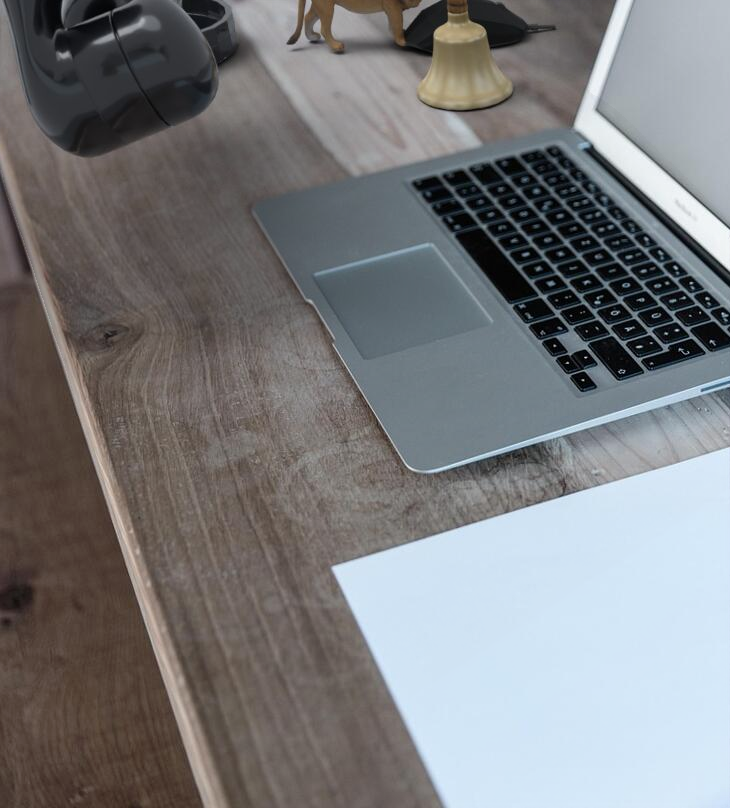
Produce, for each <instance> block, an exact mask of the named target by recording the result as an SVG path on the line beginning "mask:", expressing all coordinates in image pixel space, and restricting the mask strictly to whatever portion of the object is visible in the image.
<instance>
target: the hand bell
mask: <svg viewBox="0 0 730 808" xmlns="http://www.w3.org/2000/svg"><path fill="white" fill-rule="evenodd" d="M447 2H448V4H447V9H448V22H447V23H446V24H444V25H442V26H440V27H438V28H437V29H436V30H435V32H434V47H433V53H432V60H431V63H430V67H429V70H428V72H427V74H426V76H425V77H424V78H423V79H422V80H421V82H420V83H419V85H418V87H417V92H416V94H417V97H418V99H419V100H420V101H421V102H422V103H424V104H426V105H428V106H430V107H433V108H436V109H443V110H447V111H449V110H450V111H466V110H467V111H469V110H476V109H484V108H488V107H490V106H495V105H498V104H499V103H501V102H503V101H505V100H506V99H508V98H509V97H511V95H512V94H513V91H514V85H513V82H512V81H511V79H510V78H509V77H508V76H507V75H506V74H505V73H504V72H502V71H501V70H500V68H499V67H498V65H497V63H496V62H495V59H494V57H493V55H492V52H491V47H489V44H488V39H487V33H486V30H485V29H484V27H482V26H481V25H479V24H477V23H473V22H472V21H470V20H469V17H468V11H467V10H468V4H467V0H447Z"/></svg>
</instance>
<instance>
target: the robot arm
mask: <svg viewBox="0 0 730 808" xmlns="http://www.w3.org/2000/svg"><path fill="white" fill-rule="evenodd" d="M182 2H183V0H0V4H1V7H2V11H3V13H4V17H5V20H6V23H7V28H8V31H9V35H10V39H11V44H12V47H13V49H12V50H13V53H14V58H15V62H16V68H17V71H18V76H19V80H20V85H21V89H22V92H23V95H24V99H25V102H26V105H27V107H28V110H29V112H30V115H31V116H32V119H33V121H34V122H35V124H36V125H37V127H38V128H39V130H40V131H41V132H42V133H43V134H44V136H45V137H46V138H47V139H48V140H49V141H50V142H52V143H53V144H54V145H55V146H56V147H58V148H59V149H61V150H62V151H64V152H66V153H68V154H70V155H73V156H75V157H79V158H84V159H90V158H91V159H93V158H96V157H97V158H98V157H101V156H104V155H107V154H110V153H113V152H114V151H117V150H119V149H122V148H124V147H127V146H129V145H131V144H134V143H136V142H139V141H142V140H144V139H146V138H149V137H151V136H154V135H156V134H158V133H161V132H163V131H165V130H169V129H170V128H172V127H176V126H179V125H181V124H183V123H186V122H188V121H190V120H192V119H194V118H197V117H199V115H201V114H203V112H205V111H206V110H207V109H208V108H209V106H211V104H212V103H213V102H214V99H215V98H216V95H217V93H218V90H219V86H220V73H219V68H218V64H217V63H216V60H215V57H214V54H213V52H212V49H211V47H210V45H209V43H208V42H207V40H206V38H205V36H204V35H203V33H202V32H201V30H200V29H199V27H198V26H197V25H196V23H195V22H194V21H193V20H192V19H191V18H190V16H189V15H188V14H187V13H186V12H185V11H184V10H183V9H182V8H181V6H182Z"/></svg>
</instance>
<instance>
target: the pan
mask: <svg viewBox="0 0 730 808" xmlns="http://www.w3.org/2000/svg"><path fill="white" fill-rule="evenodd" d="M182 7H183V10H184V11H185V12H186V13H187V14H188V15H189V16H190V18H191V19H192V20H193V21H194V22H195V23H196V25H197V26H198V27H199V29H200V30H201V32H202V33H203V35H204V36H205V38H206V40H207V42H208V43H209V45H210V47H211V49H212V52H213V54H214V57H215V60H216V63H218V62H220V61H222V60H223V59H224V58H225V57H227V56H228V55H229V56H231V54H233V53H234V52H235V50H236V49H237V48H238V46H239V40H238V35H237V29H236V25H235V19H234V14H233V10H232V6H231V5H230V4H229V3H227V2H226V1H225V0H183V2H182ZM229 56H228V57H229ZM228 57H227V58H228ZM223 61H224V60H223ZM223 61H222V62H223ZM220 63H221V62H220ZM218 64H219V63H218Z"/></svg>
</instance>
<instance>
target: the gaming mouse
mask: <svg viewBox="0 0 730 808" xmlns="http://www.w3.org/2000/svg"><path fill="white" fill-rule="evenodd" d="M447 4H448V2H447V0H438V1H437V2H435V3H433V4H431V5H429V6H426V7H425V8H423V9H421V10H420V12H419V13H418V14H417V15H416V17H415V18H414V19H413V20H412V22H411V23H410V24H409V25H408V27H407V28H405V31H404V33H403V34H404V37H405V41H406V44H407V46H409V47H412V48H416V49H420V50H423V51H425V52H429V53H432V54H433V47H434V32H435V30H436V29H437V28H438V27H440V26H442V25H444V24H446V23H447V22H448V9H447ZM467 4H468V10H467V11H468V17H469V20H470V21H472V22H473V23H477V24H479V25H481V26H482V27H484V29H485V30H486V33H487V39H488V44H489V48H492V47H493V48H494V47H499V46H503V45H504V46H505V45H511V44H513V43H516V42H518V41H521V40H522V39H524V38H525V36H526V34H527V31H539V30H552V29H553V30H555V29H556V26H557V25H556V24H538V23H527V22H526V21H525V19H523V18H522V17H521V16H519V15H517V13H514V12H513V11H512V10H510V9H508V7H506V5H505V4H504V3H503V2H502V1H496V2H495V1H492V0H467Z"/></svg>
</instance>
